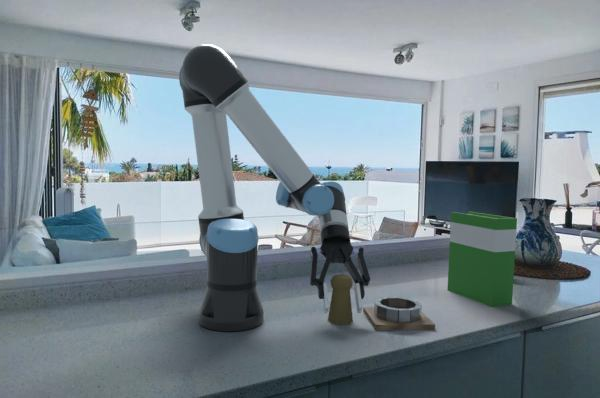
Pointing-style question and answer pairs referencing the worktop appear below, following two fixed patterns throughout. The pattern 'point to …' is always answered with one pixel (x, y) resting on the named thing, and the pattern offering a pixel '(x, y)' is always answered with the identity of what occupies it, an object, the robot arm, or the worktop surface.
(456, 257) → the cereal box
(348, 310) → the cork
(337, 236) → the robot arm
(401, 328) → the walnut board
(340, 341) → the worktop surface
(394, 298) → the steel collar
